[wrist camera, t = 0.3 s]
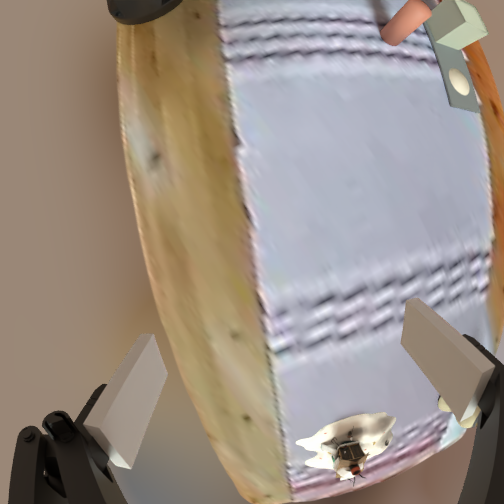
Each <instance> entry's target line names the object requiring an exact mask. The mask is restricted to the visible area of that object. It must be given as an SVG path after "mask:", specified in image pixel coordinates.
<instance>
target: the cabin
mask: <svg viewBox="0 0 504 504" xmlns="http://www.w3.org/2000/svg"><path fill="white" fill-rule="evenodd" d="M395 421H396V418H395V417H390V416H387V414H386V413H385V412H379V413H375V414H360V415H355V416H352V417H348V418H345V419H342V420H340V421H337V422H334V423H331V424H329V425H327V426H325V427H323V428H322V429H321V430H319V431H318V432H317V434H316V435H314V436H313V437H311V438H307V439H301V440H298V441H297V442H296V444H297V445H300V446H304V447H305V449H306V450H312V451H315V452H317V453H318V454H317V456H316V457H314V458H312V459H309V460H307V461H305V464H306V465H307V466H311V467H316V468H327V469H334V470H335V471H336V478H340V480H346V479H349V478H353V477H354V482H355V475H358V474H359V475H360V472H362V471H363V469H364V463H365V461H366V459H368V458H370V457H373V456H375V455H378V454H380V453H382V452H383V451H384V450H385V449H386V448H387V446H388V445H389V443H390V442H391V440H392V438H393V434H392V432H391V428H392V426H393V425H394V423H395ZM360 476H361V475H360ZM361 477H362V476H361ZM362 478H364V477H362ZM349 480H350V479H349ZM353 486H354V484H353Z"/></svg>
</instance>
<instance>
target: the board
mask: <svg viewBox="0 0 504 504" xmlns="http://www.w3.org/2000/svg"><path fill="white" fill-rule="evenodd" d="M423 25H424V27H425V30H426V32H427V35H428V37H429V39H430V42H431V45H432V47H433V50H434V53H435V56H436V59H437V61H438V64H439V68H440V71H441V74H442V77H443V81H444V84H445V88H446V92H447V95H448V99H449V104H450V106H451V107H455V108H460V109H464V110H468V111H472V112H476V113H480V111H479V107H478V103H477V99H476V95H475V91H474V88H473V84H472V81H471V77H470V74H469V71H468V68H467V65H466V62H465V60H464V57H463V54H462V51H461V49H460V50H457V49H454V48H451V47H448V46H446V45H443V44H440V43H437V42H435V39H434V37H433V34H432V32H431V30H430V27H429V25H428V23H427V21H425V22H424V23H423Z"/></svg>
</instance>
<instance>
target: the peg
mask: <svg viewBox="0 0 504 504" xmlns="http://www.w3.org/2000/svg"><path fill="white" fill-rule="evenodd" d="M431 16H432V12H431V10H430V8H429V7H428V6H427V5H426V4H425V3H424V2H423V1H421V0H408V1H407V3H406V4H405V5H404V6H403V7H402V8H401V9H400V10H399V11H398V12H397V13H396V14H395V15H394V17H393V18H392V19H391V20H390V21H389V22H388V23H387V24H386V25H385V26H384V28H383V29H382V30H381V31H380V35H381V38H382V39H383V40H384V41H385V42H386V43H387V44H389V45H392V46H397V45H398V44H399V43H401V42H402V41H403V40H404V39H405V38H406V37H407V36H409V35H410V34H411V33H412V32H413V31H414V30H415V29H417V28H418V27H419V26H420V25H421V24H422V23H424V22H425V21H426V20H427V19H428V18H430V17H431Z"/></svg>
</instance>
